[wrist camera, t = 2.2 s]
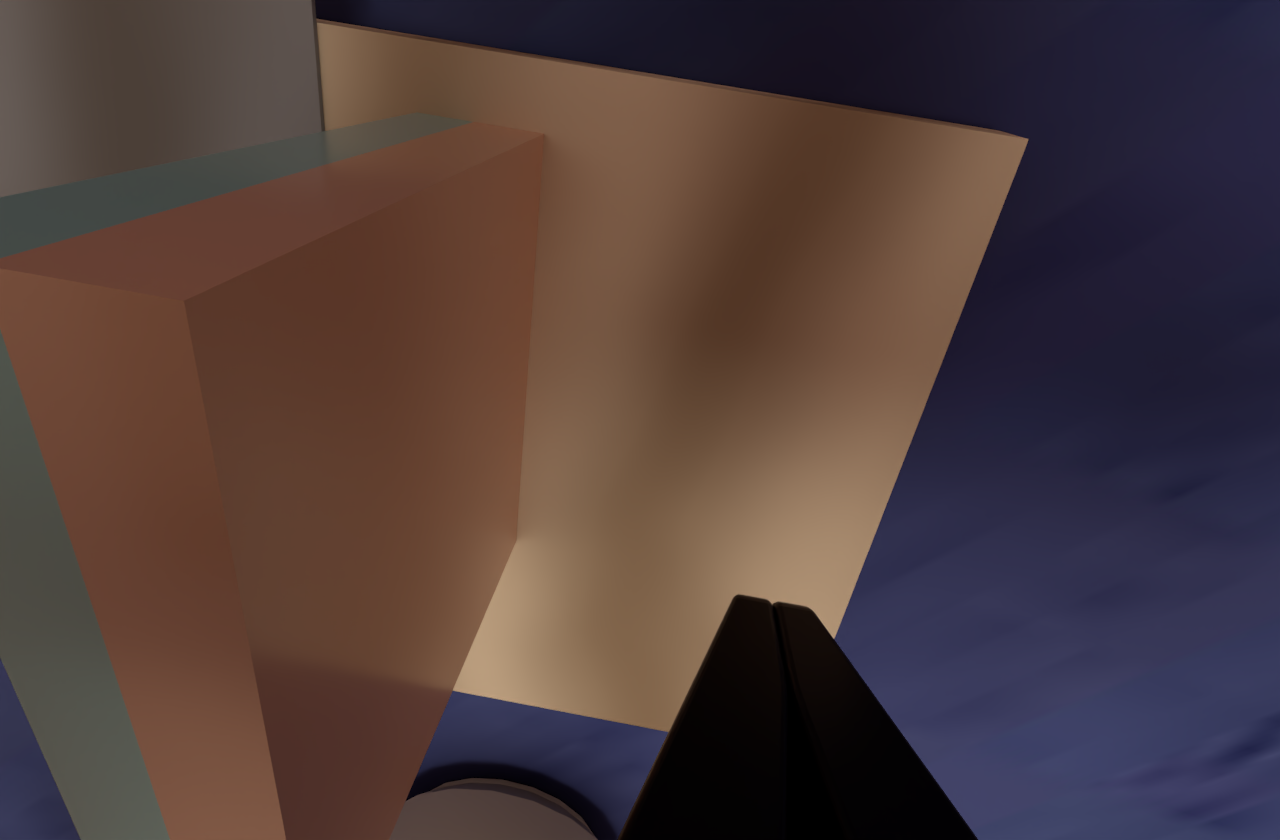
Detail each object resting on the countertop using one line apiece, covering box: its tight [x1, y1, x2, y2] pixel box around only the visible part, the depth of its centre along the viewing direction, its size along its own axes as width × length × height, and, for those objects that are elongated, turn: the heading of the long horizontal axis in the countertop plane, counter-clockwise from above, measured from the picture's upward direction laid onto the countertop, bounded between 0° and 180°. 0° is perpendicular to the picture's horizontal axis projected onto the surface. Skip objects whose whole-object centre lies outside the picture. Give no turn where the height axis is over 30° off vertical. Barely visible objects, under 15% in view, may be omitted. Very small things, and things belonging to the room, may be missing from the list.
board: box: [0, 0, 1029, 732], centre depth 14 cm, size 20×14×1 cm
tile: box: [0, 112, 544, 840], centre depth 9 cm, size 2×8×8 cm, turn 172°
